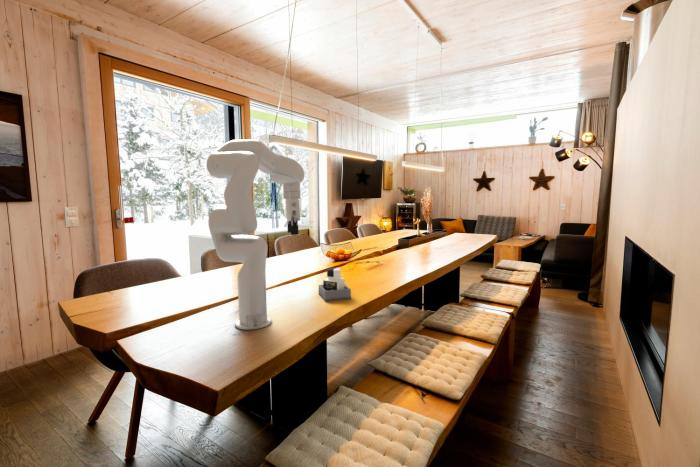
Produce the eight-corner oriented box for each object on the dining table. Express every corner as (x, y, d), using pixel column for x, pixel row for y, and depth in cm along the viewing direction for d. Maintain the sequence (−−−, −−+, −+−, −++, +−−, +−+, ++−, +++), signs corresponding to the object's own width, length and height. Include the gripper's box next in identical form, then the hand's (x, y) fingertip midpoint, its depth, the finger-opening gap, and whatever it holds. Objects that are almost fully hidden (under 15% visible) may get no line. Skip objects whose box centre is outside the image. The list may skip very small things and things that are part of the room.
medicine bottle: (323, 295, 155) (322, 269, 154) (331, 291, 162) (331, 266, 160) (337, 297, 152) (336, 270, 151) (344, 293, 158) (344, 267, 157)
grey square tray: (350, 298, 153) (350, 288, 153) (325, 301, 150) (325, 291, 149) (342, 292, 164) (342, 282, 164) (318, 294, 161) (318, 284, 160)
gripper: (303, 195, 149) (304, 235, 151) (296, 195, 165) (297, 231, 167) (286, 195, 147) (287, 235, 149) (280, 195, 163) (281, 232, 165)
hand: (292, 233), depth 158 cm, fingers open, 9 cm apart
